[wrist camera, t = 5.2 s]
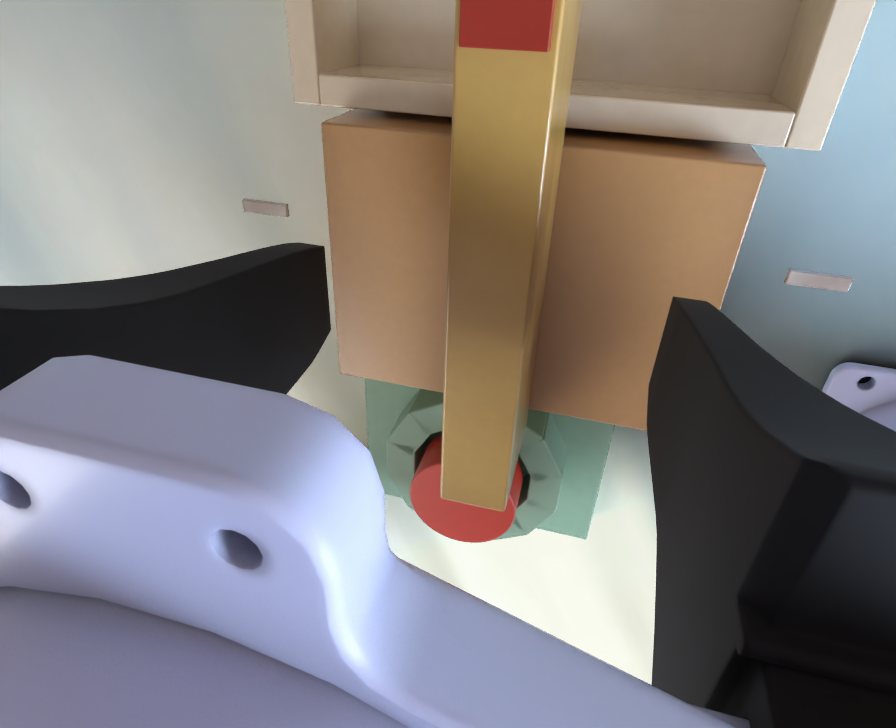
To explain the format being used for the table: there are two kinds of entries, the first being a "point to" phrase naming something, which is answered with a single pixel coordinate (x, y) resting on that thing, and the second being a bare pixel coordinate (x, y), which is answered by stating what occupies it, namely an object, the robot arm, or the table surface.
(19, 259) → the table surface
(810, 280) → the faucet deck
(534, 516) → the tap control
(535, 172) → the golden tan long bar
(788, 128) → the wooden tray
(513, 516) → the tap button
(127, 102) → the table surface
